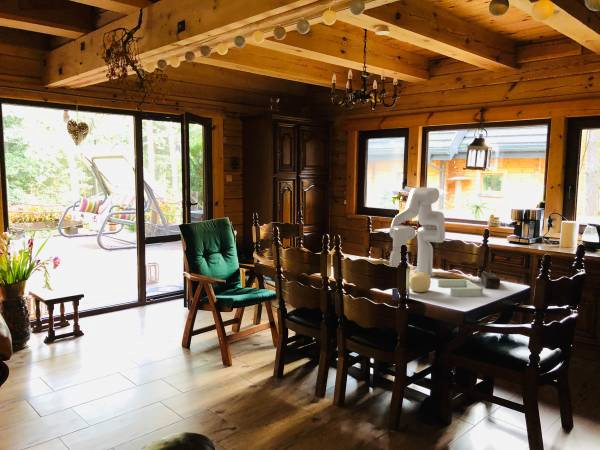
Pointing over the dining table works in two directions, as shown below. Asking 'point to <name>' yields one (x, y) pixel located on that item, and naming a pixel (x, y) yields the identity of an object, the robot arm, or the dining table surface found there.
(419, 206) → the robot arm
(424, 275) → the pale yellow ball
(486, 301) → the dining table surface
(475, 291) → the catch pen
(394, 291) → the flask
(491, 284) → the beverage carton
